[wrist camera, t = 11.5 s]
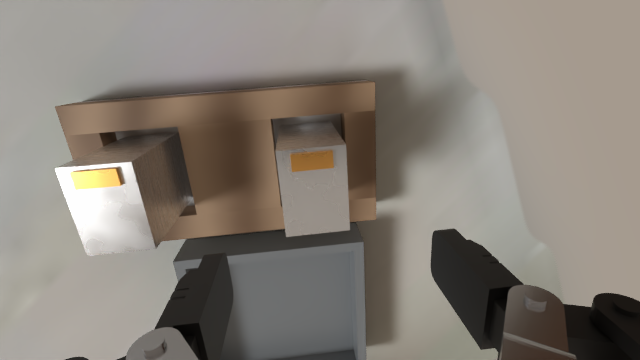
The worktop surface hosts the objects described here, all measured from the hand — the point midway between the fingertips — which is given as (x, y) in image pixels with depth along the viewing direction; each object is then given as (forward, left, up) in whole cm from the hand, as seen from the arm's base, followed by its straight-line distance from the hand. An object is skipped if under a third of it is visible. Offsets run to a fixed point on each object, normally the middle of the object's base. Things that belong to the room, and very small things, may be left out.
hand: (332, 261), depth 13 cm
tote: (-4, -15, -16) cm, 22 cm away
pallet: (-6, 0, -16) cm, 17 cm away
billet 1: (-12, 0, -15) cm, 19 cm away
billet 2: (0, 0, -15) cm, 15 cm away
